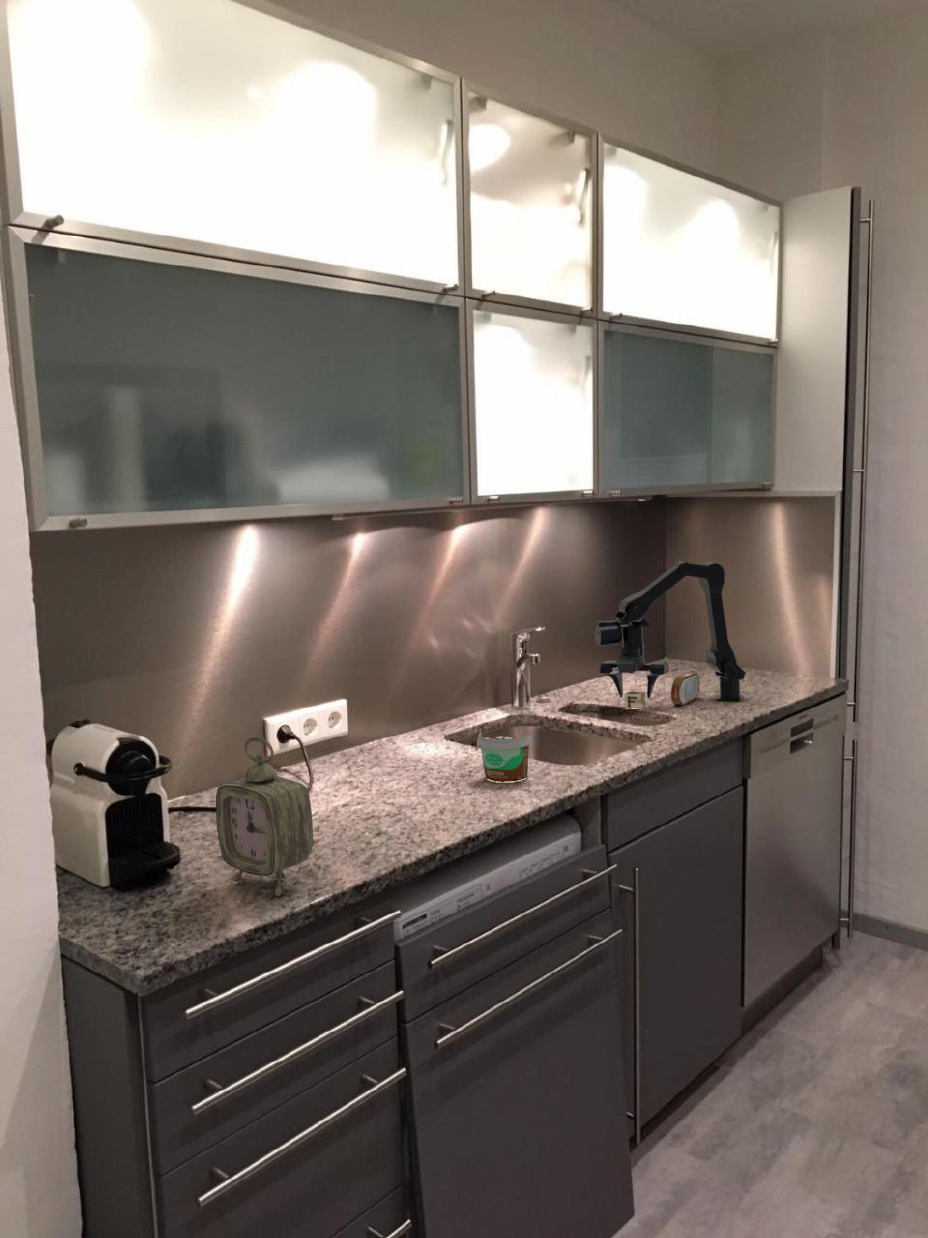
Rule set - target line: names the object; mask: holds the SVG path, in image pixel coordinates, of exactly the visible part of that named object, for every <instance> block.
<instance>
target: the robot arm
mask: <svg viewBox="0 0 928 1238" xmlns="http://www.w3.org/2000/svg"><path fill="white" fill-rule="evenodd" d="M686 577H692V578H693V577H694V578H697V580H698V583H699V586H700V587H701V589H702V592H703V593H704V595H705V602H706V610H707V617H708V625H709V633H710V640H711V641H710V642H711V645H710V648H709V649H705V655H706V661H705V662H706V664H708V665H709V668H710V669H711V670H713V672H714V674H715V676H716V677H719V695H718V697H717V698H716V701H731V702H739V701H741V700H742V699H743V698H744V694H741V680H744V679H745V676H746V671H745V670H744V669H743V668H741V666H739V665H738V662H737V658H736V655H735V653H734V651H733V649H732V647H731V645H730V643H729V637H728V630H727V623H726V621H727V620H726V615H725V607H724V600H723V599H724V598H723V590H724V586H725V584H726V583H725V581H726V580H725V579H726V578H725V577H726V571H725V568H724V566H723V565H721V564H720V563H717V562H710V561H706V562H702V563H701V564H697V563H689V562H687V561H682V560H681V561H677V562H676V563H674V565H673V566H672V567H671V568H669V569H668V570H666V571H665V572H664V573H663V574H661V575H660V576H659V577H657V578H656V579H655V580H654V581H652V582H651V583H650V584H648V585H647V586H646V587H645V588H643V589H642V590H640V591H638V592H635V593H632V594H631V595H629V596H627V597H625V598H623V599H622V600H621V601H620V602H619V604H618V609H617V612H616V613H615V614H614V616H613V618H612V619H611V620H608V621H604V620H603V621H602V620H600V621H597V622H596V627H595V630H594V640H595V643H596V645H597V646H598V647H601V646H610V645H611V646H613V645H614V646H615V645H619V644H620V642H622V647H621V654H620V656H619V657H618V659H617V660H605V661H602V662H601V663H600V664H599V667H598V668H599V673H600V674H605V675H606V676H607V677H610V678H611V680H612V681H613V683H614V685H615V688H616V690H617V693H618V695H619V697H620V698H623V696H624V695H623V694H624V687H623V686H624V683H623V674H625V673H626V674H635V673H636V671H637V672H648V674H647V675H646V678H647V684H646V685H647V689H646V690H647V691H646V697H647V699H650V698H651V695H652V694H653V693H652V692H653V689H654V687H655V684H656V681H657V679H658V677H660V676H662V675H665V674H667V673H669V671H670V665H669V663H668V662H667V661H653V662H652V663H649V664H648V663H647V664H645V663H646V660H645V659H644V658H645V657H644V656H645V655H644V653H645V652H644V649H645V644H644V635H643V634H644V633H643V632H644V631H643V630H644V629H643V628H644V627H650V626H651V623H649V622H648V621H647V620H646V619H645V618H644V617H643V616H645V614H646V613H647V612H648V611H649V610H650V609H651V606H652V605H653V603H654V602H655V601H656V600H658V599H659V598H660V597H661V596H663V594H665V593H666V592H667V591H669V590H671V588H672V587H674V586H675V585H676V584H678V583H679V582H680V581H681V580H683V579H684V578H686Z"/></svg>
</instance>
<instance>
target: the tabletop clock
mask: <svg viewBox="0 0 928 1238" xmlns="http://www.w3.org/2000/svg"><path fill="white" fill-rule="evenodd" d="M251 742H260V743H262V744H265V745H266V747H267V748H268V750H269V752H270V755H269V757H268V758H264V756H263V754H262V753H257V754H256V756H254V755H252V754H251V753H250V752H249V750H248V746H249V744H250V743H251ZM244 753H245V754H246V756H247V757H248V759H250V760H251V761H252V762H255V763H256V764H253V765H251V766H250V767H249V769H248V770H247V771H246V773H245V775H244V778H242V779H239V780H237V781H233V782H230V783H226V784H224V785H221V786H219V787H217V789H216V790H217V791H216V794H215V816H216V818H215V819H216V822H215V823H216V831H217V838H218V844H219V849H220V853H221V856H222V859H223V861H224V862H225V863H226V864H227V865H229V866H230V867H232V868H234V869H235V870H239V872H238V873H235V874H234V875H232V877H231V879H232V882H233V883H234V882H239V881H241V880H242V881H243V876H242V874H243V873H246V874H249V875H255V876H260V877H269V876H273V875H274V877H275V880H276V879H277V880H276V881H277V882H276V883H277V886H276V887H275V889H274V894H275V896H277V895H282V894H284V895H285V893H286V889H285V888H284V886H283V885H282V881H283V880H282V878H284V877H286V874H285V872H284V870H286V869H289V868H291V867H294V866H296V865H298V864H302V863H304V862H306V861H308V859H309V858H310V856H311V853H312V851H313V847H314V825H313V823H314V822H313V821H314V820H313V812H312V804H311V798H310V792H309V790H308V787H307V786H305V785H304V784H303V783H300V782H298V781H295V780H292V779H289V778H285V777H282V776H279V775H278V774H277V771H276V769H275V768H274V767H273V766H272V765H270V764H268V763H271V761H272V760H273V758H274V754H275V753H274V749H273V746H272V744H271V743H270V742H269V741H268V740H266V738H262V737H261V736H259V737H258V736H251V737H249V738H247V740H246V741H245V742H244ZM284 879H285V878H284ZM281 880H282V881H281ZM242 881H241V882H242Z"/></svg>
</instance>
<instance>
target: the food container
mask: <svg viewBox="0 0 928 1238" xmlns="http://www.w3.org/2000/svg"><path fill="white" fill-rule="evenodd" d="M532 744H533V741H532V737H531V736H530V734H529V733H528V734H526V735H523V736H520V737H515V736H509V735H496V736H482V732H480V733H479V734H478V737H477V743H476V745H477V746H478V747H480V750H481V751H480V752H481V757H482V765H483V769H484V771H483V772H484V777H485V779H486V778H487V779H490V780H493V781H498V782H499V781H501V782H504V781H517V780H521V779H524V778H526V777H527V778H528V774H529V771H528V769H529V753H530V751H529V750H530V748H529V747H530V745H532Z"/></svg>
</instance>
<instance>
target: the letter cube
mask: <svg viewBox="0 0 928 1238" xmlns="http://www.w3.org/2000/svg"><path fill="white" fill-rule="evenodd" d="M624 705H625V706H624V708H637V709H641V708H643V709H645V708H646V707H645V706H646V691H644V690H643V691H642V690H638V691H637V690H629V691H627V692H626V693H624ZM644 707H645V708H644Z"/></svg>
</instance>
